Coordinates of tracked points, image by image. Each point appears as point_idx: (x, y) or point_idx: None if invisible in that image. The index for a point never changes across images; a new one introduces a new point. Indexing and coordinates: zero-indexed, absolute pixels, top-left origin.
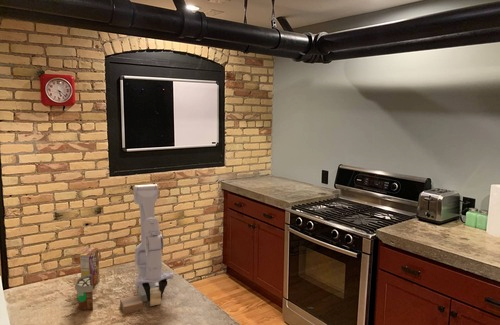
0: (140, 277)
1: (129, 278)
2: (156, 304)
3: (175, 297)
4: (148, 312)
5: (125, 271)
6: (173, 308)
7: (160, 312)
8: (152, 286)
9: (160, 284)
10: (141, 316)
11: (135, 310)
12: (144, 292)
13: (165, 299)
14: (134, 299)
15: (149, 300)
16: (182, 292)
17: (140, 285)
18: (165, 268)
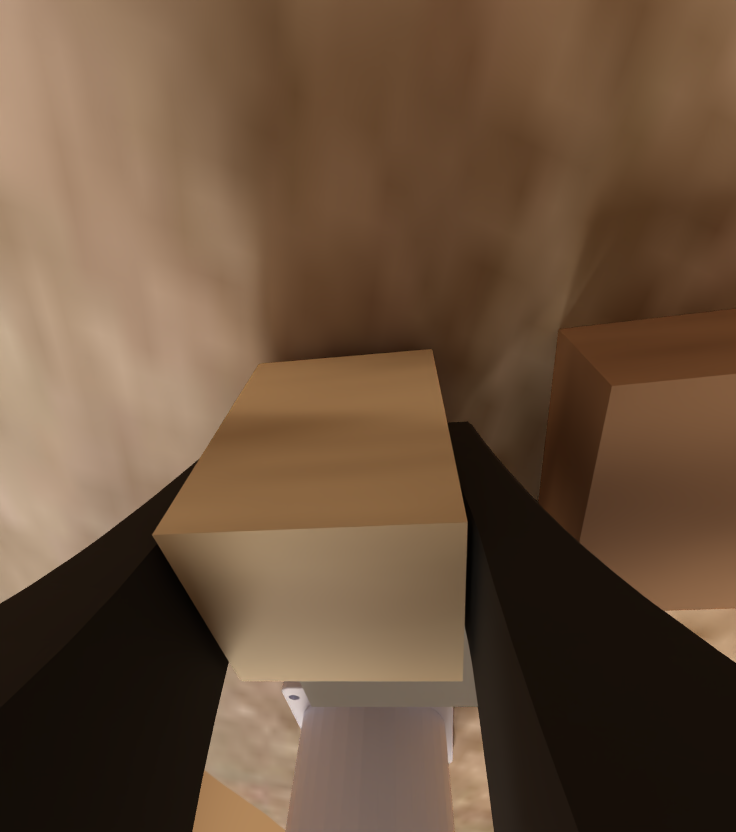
0: (446, 823)
1: (480, 774)
2: (332, 359)
3: (82, 478)
4: (512, 165)
5: (479, 813)
6: (26, 154)
7: (278, 61)
8: (341, 694)
9: (57, 818)
10: (718, 11)
11: (698, 317)
12: (464, 634)
13: None
14: (689, 531)
15: (453, 430)
16: (25, 544)
17: (439, 717)
18: (235, 786)
